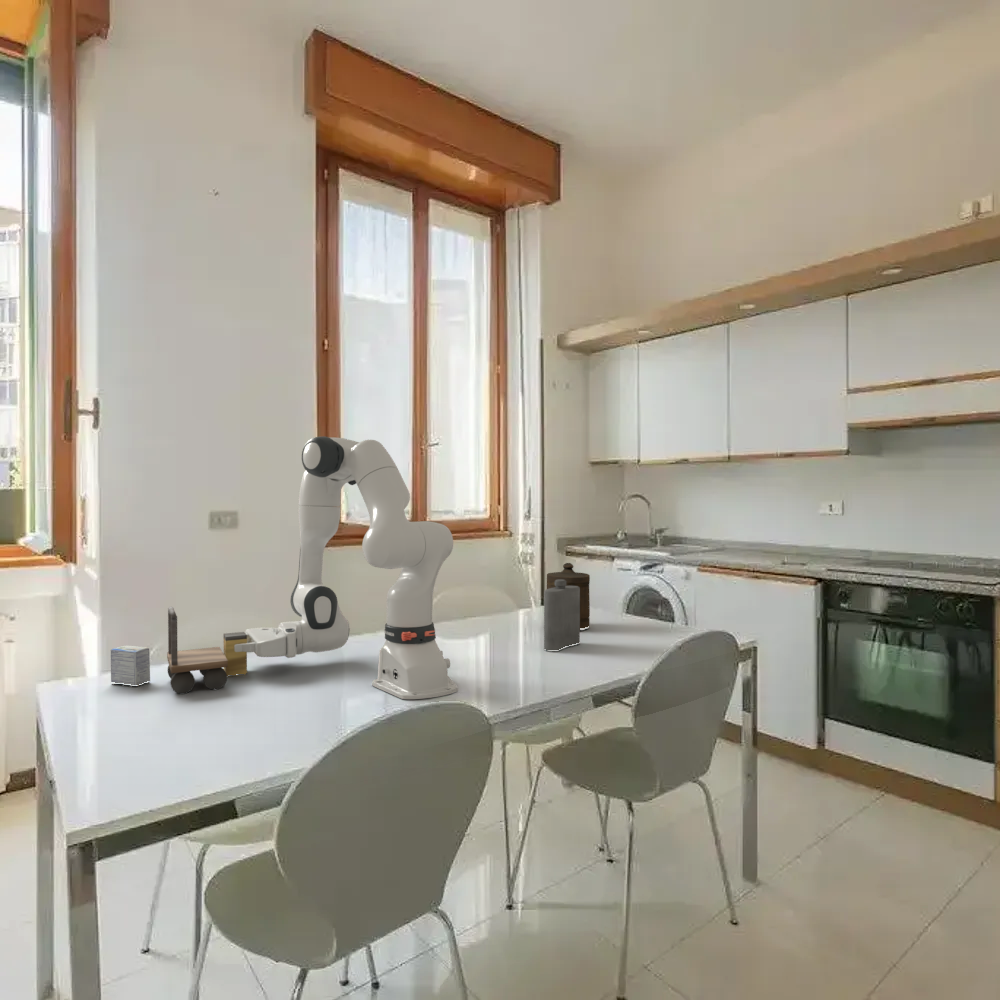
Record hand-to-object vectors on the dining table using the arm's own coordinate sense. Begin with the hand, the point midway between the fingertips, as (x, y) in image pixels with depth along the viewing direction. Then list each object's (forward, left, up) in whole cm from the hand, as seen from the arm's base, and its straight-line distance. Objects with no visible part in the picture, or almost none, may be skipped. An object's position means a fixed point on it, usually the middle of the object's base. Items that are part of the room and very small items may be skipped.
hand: (231, 644), depth 176 cm
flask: (-15, -90, -8) cm, 92 cm away
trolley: (-6, +9, -7) cm, 13 cm away
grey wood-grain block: (+2, +23, -8) cm, 24 cm away
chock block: (0, -1, -7) cm, 8 cm away
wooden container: (+8, -108, -8) cm, 109 cm away
